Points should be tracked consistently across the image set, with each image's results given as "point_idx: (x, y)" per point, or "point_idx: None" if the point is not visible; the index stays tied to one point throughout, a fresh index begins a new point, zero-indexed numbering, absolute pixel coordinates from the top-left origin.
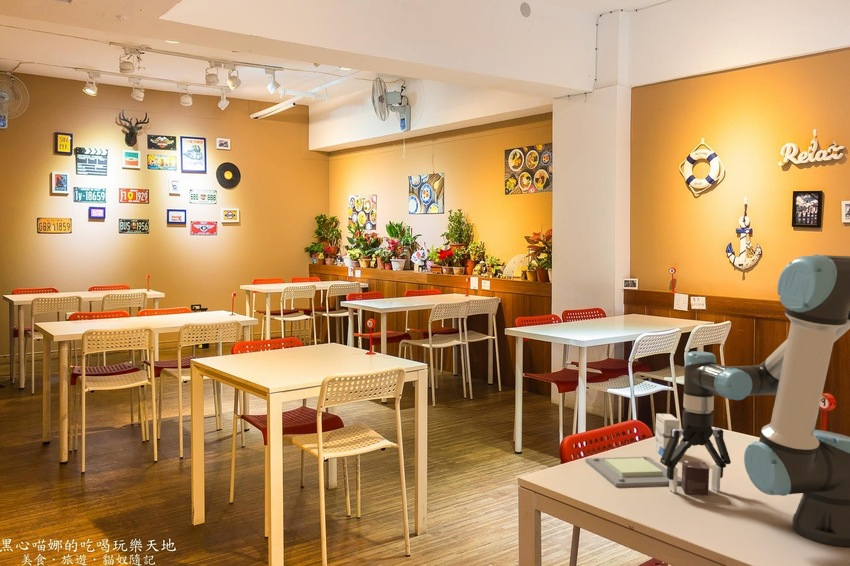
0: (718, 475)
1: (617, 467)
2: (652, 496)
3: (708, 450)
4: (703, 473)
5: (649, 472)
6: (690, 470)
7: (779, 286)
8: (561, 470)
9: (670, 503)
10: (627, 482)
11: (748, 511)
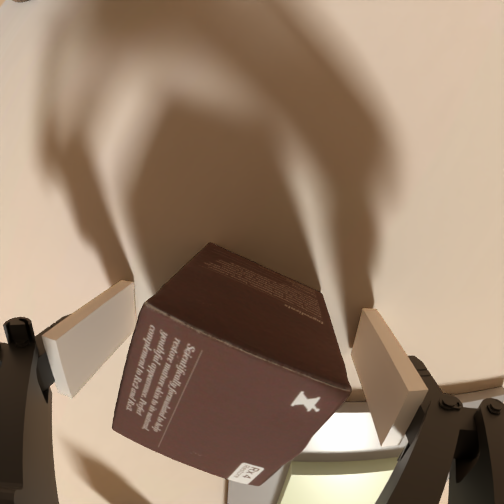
0: (83, 314)
1: None
2: (479, 289)
3: (48, 477)
4: (209, 304)
5: (351, 471)
6: (316, 360)
7: None
8: None
9: (467, 191)
10: (476, 404)
11: (149, 30)
